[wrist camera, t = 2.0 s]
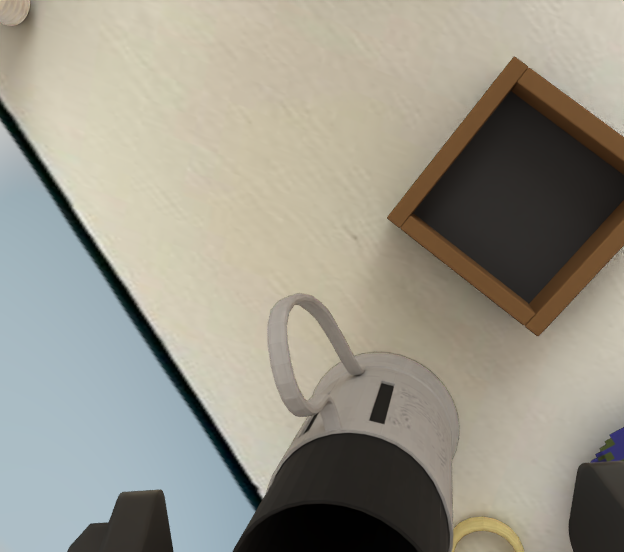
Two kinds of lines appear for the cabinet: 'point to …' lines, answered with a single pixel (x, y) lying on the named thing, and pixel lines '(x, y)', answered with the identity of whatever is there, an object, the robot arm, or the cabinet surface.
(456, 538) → the ring
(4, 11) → the lightbulb
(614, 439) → the ball
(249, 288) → the cabinet surface
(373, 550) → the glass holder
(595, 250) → the socket pad
